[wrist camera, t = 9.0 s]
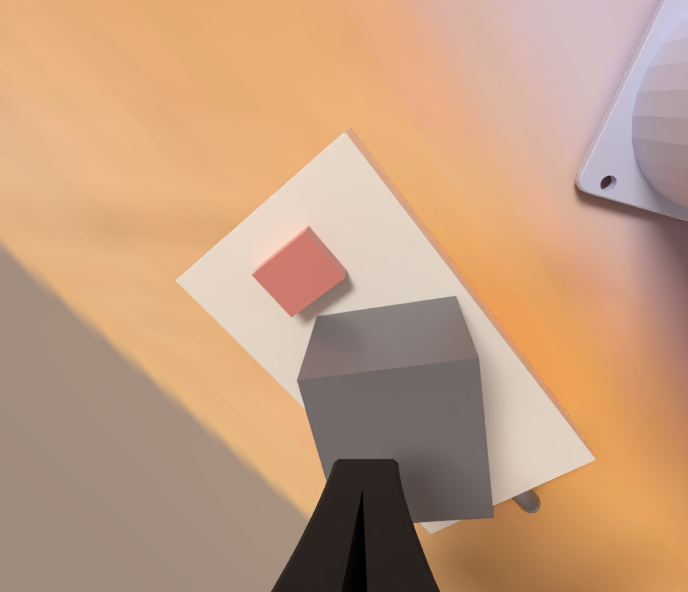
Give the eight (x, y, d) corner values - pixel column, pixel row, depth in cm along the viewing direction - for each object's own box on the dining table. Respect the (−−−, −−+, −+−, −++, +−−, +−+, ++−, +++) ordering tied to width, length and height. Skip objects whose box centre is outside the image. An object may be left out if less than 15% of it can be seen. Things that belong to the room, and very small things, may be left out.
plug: (447, 274, 17) (478, 357, 11) (462, 399, 19) (494, 517, 14) (323, 294, 18) (296, 380, 12) (352, 410, 20) (340, 527, 14)
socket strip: (607, 465, 21) (645, 527, 18) (463, 529, 23) (475, 592, 20) (350, 127, 15) (342, 133, 12) (201, 258, 18) (165, 289, 15)
